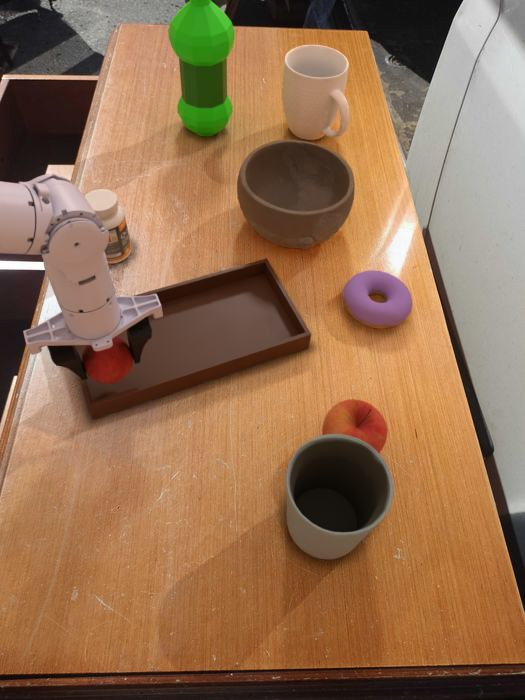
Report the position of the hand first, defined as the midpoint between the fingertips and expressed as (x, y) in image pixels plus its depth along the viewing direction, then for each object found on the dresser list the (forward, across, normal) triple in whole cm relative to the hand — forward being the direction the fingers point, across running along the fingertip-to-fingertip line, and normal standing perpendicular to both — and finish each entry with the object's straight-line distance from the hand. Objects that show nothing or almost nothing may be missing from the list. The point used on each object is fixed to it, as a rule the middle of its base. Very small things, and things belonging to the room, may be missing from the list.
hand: (109, 365), depth 67 cm
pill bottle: (+5, +6, +23) cm, 24 cm away
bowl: (+4, +34, +19) cm, 39 cm away
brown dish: (+4, +11, +3) cm, 12 cm away
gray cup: (+5, +17, -26) cm, 31 cm away
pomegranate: (+3, 0, 0) cm, 3 cm away
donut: (+5, +38, -1) cm, 38 cm away
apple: (+5, +24, -19) cm, 31 cm away
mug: (+4, +48, +40) cm, 62 cm away
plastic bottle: (+4, +30, +48) cm, 57 cm away
